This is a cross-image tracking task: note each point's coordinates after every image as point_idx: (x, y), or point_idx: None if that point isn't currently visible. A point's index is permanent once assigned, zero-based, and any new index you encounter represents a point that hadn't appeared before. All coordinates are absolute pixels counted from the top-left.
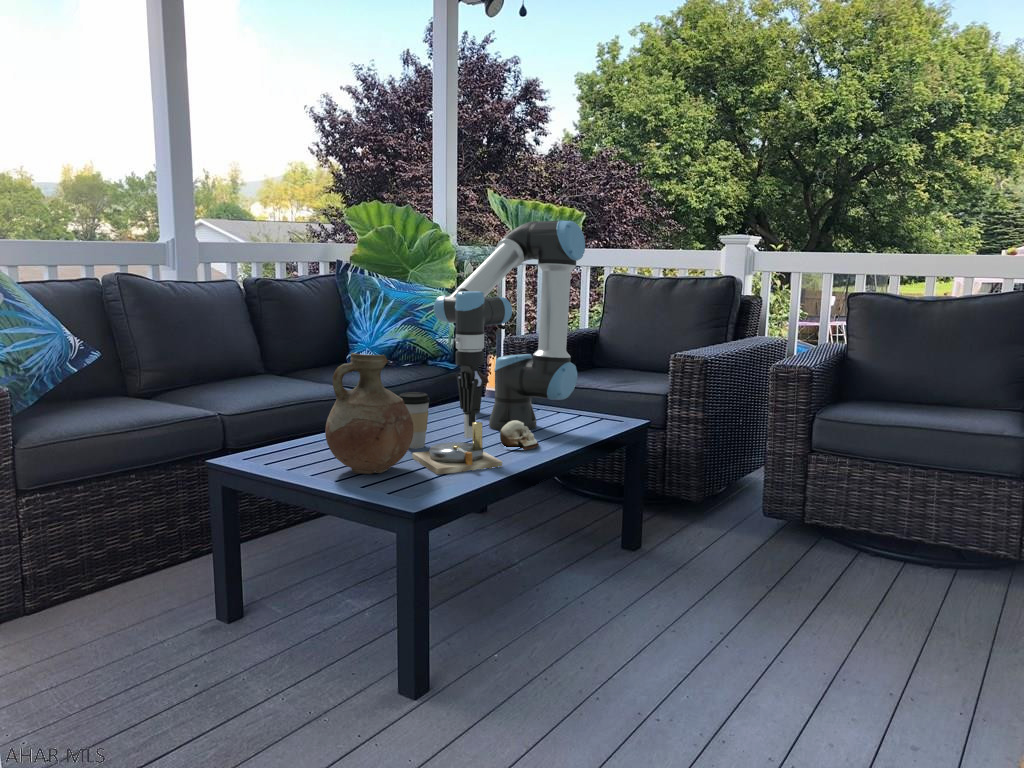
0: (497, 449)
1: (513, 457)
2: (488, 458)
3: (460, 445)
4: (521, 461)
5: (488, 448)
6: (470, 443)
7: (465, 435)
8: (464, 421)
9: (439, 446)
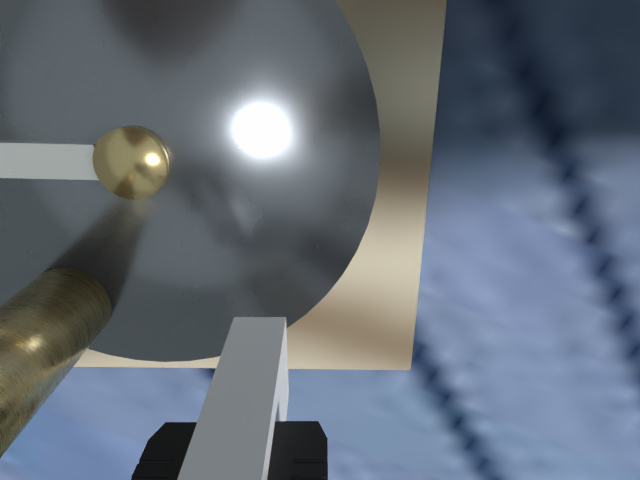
0: (394, 470)
1: None
2: None
3: (234, 234)
4: (95, 466)
5: (440, 442)
6: None
7: (255, 328)
8: (262, 431)
9: (266, 37)
